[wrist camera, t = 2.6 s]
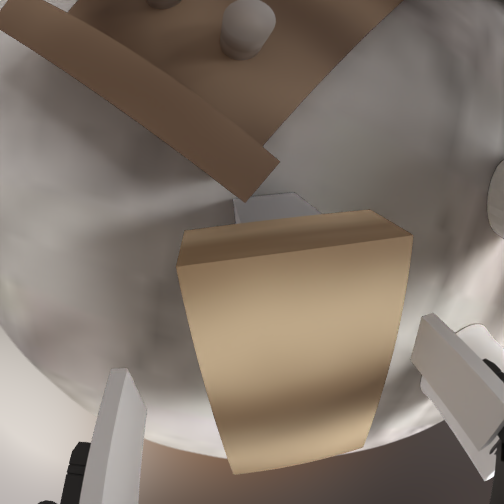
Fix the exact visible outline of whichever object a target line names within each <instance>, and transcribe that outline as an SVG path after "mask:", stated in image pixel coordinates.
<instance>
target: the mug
mask: <svg viewBox="0 0 504 504" xmlns="http://www.w3.org/2000/svg"><path fill="white" fill-rule="evenodd" d="M456 335H457V336H458V337H460V338H461V339H462V340H463V341H464V342H465V343H466V344H467V345H468V346H469V347H470V348H471V349H472V350H473V351H474V352H475V353H476V354H477V355H478V356H479V357H480V358H481V359H482V360H483V359H485V358H486V359H488V360H489V361H491V362H493V363H495V364H496V365H497V366H498V367H499V368H500V369H501V372H503V373H504V348H503V347H502V346H501V345H500V344H499V343H498V342H497V341H496V340H495V339H494V338H493V337H492V336H491V335H490V333H489V332H488V330H487V328H486V327H485V326H483V325H481V324H474V325H470V326H468V327H466V328H464V329H462V330H460V331H459V332H457V333H456ZM420 386H421V390H422V392H423V393H424V394H425V395H426V396H427V397H429V399H430V400H431V401H432V402H433V403H434V405H435V406H436V408H437V409H438V410H439V412H440V413H441V415H442V416H443V418H444V419H445V420H446V422H447V423H448V425H449V427H450V428H451V430H452V431H453V432H454V434H455V436H456V437H457V439H458V440H459V442H460V443H461V445H462V446H463V447H464V449H465V451H466V452H467V454H468V456H469V457H470V459H471V460H472V462H473V463H474V465H475V467H476V468H477V470H478V472H479V473H480V475H481V476H482V478H483V480H484V481H486V480H488V479H490V478H492V477H493V476H494V472H495V463H496V455H494V453H495V451H496V450H497V448H496V449H495V450H494V452H493V453H492V454H489V453H490V450H491V449H492V447H493V446H494V445H495V444H496V442H497V441H498V440H499V439H500V438H499V437H498V436H496V437H495V439H494V440H493V441H492V443H491V444H489V445H488V446H487V447H485V448H484V449H482V450H481V451H478V450H477V449H476V447H475V446H474V444H473V443H472V441H471V440H470V439H469V437H468V436H467V434H466V433H465V432H464V430H463V429H462V427H461V426H460V425H459V423H458V422H457V420H456V419H455V418H454V416H453V415H452V414H451V412H450V411H449V410H448V408H447V407H446V406H445V404H444V403H443V402H442V400H441V399H440V398H439V396H438V395H437V394H436V392H435V391H434V390H433V388H432V387H431V386H430V384H429V383H428V382H427V381H426V379H425V378H424V377H423V375H422V378H421V383H420Z"/></svg>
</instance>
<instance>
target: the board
mask: <svg viewBox="0 0 504 504" xmlns="http://www.w3.org/2000/svg"><path fill="white" fill-rule="evenodd" d="M412 244H413V235H412V234H411V233H409V232H407V231H406V230H404V229H402V228H401V227H399V226H397V225H396V224H394V223H392V222H391V221H389V220H387V219H386V218H384V217H382V216H380V215H379V214H377V213H375V212H373V211H372V210H370V209H369V210H359V211H348V212H338V213H328V214H318V215H309V216H300V217H290V218H282V219H273V220H264V221H256V222H247V223H239V224H231V225H223V226H215V227H208V228H200V229H193V230H185V231H184V235H183V239H182V243H181V247H180V251H179V256H178V260H177V264H176V270H177V274H178V279H179V284H180V288H181V293H182V298H183V302H184V306H185V311H186V315H187V319H188V323H189V327H190V332H191V336H192V340H193V344H194V347H195V351H196V355H197V359H198V363H199V366H200V370H201V374H202V377H203V381H204V384H205V388H206V391H207V395H208V398H209V402H210V405H211V408H212V412H213V415H214V418H215V421H216V425H217V428H218V431H219V434H220V437H221V440H222V443H223V446H224V449H225V452H226V455H227V458H228V461H229V464H230V467H231V469H232V472H233V475H235V474H244V473H252V472H258V471H265V470H271V469H278V468H283V467H288V466H293V465H298V464H303V463H307V462H311V461H316V460H320V459H324V458H328V457H332V456H336V455H339V454H343V453H346V452H350V451H353V450H356V449H359V448H362V447H363V446H364V443H365V441H366V438H367V435H368V433H369V430H370V427H371V424H372V422H373V419H374V416H375V413H376V410H377V407H378V404H379V400H380V397H381V394H382V391H383V387H384V384H385V381H386V377H387V374H388V370H389V366H390V362H391V359H392V355H393V351H394V346H395V342H396V338H397V334H398V329H399V324H400V320H401V315H402V310H403V304H404V299H405V293H406V287H407V281H408V275H409V268H410V261H411V253H412Z"/></svg>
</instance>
